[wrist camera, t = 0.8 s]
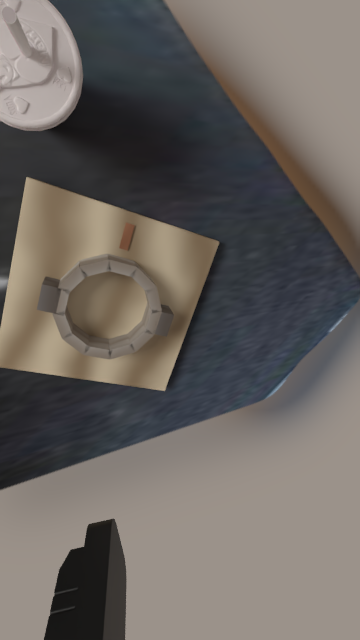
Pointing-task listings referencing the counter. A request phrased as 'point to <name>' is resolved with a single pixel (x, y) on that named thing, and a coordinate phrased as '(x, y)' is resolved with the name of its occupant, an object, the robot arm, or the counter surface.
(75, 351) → the holder
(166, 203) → the counter surface
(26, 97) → the smoothie
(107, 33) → the counter surface
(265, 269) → the counter surface
